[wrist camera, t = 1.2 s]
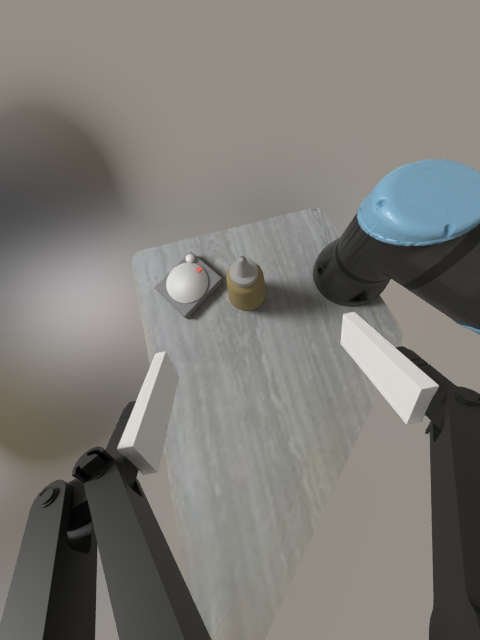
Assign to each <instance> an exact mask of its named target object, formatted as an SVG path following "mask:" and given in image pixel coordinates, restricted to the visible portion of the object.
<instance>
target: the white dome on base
mask: <svg viewBox="0 0 480 640" xmlns="http://www.w3.org/2000/svg"><path fill="white" fill-rule="evenodd" d="M222 283H223V280H222V278H221V277H220V276H219V275H218V274H216V273H215V272H214V271H213V270H212V269H211V268H209V267H208V266H207V265H206V264H205V263H204V262H203V261H201V260H200V259H199V258H198V257H197V256H196V255H195V254H193V253H192V252H190V253H189V254H188V255H187V256H186V257H185V258H184V259H183V260H182V261H181V262H180V263H179V264H178V265H177V266H176V267H175V268H174V269H173V270H172V271H171V272H170V273H169V274H168V275H167V276H166V277H165V278H164V279H163V280H162V281H161V282H160V283H159V284H158V285H157V286H156V287H155V289H156V290H157V291H158V292H159V293H160V294H161V295H162V296H163V297H164V298H165V299H166V300H167V301H168V302H169V303H170V304H171V305H172V306H173V307H174V308H175V309H176V310H177V311H178V312H179V313H180V314H181V315H182V316H183V317H185V318H187V319H188V318H189V317H190V316H191V315H192V314H193V313H194V312H195V311H196V309H197V308H198V307H199V306H200V305H201V304H202V303H203V302H204V301H205V300H206V299H207V298H208V297H209V296H210V295H211V294H212V293H213V292H214V291H215V290H216V289H217V288H218V287H219V286H220V285H221V284H222Z"/></svg>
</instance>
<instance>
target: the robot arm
mask: <svg viewBox="0 0 480 640" xmlns="http://www.w3.org/2000/svg"><path fill="white" fill-rule="evenodd" d="M313 277H314V281H315V284H316V286H317V288H318V290H319V291H320V292H321V293H322V295H324V296H325V297H326V298H327V299H329V300H330V301H332V302H334V303H336V304H339V305H343V306H358V305H362V304H365V303H367V302H369V301H371V300H373V299H374V298H376V297H377V296H378V295H380V294H381V292H383V290H384V289H385V287H386V286H387V284H388V283H389V281H390V279H393V280H394V281H396V282H397V283H399V284H400V285H402V286H404V287H405V288H407V289H408V290H409V291H411V292H412V293H414V294H415V295H417V296H419V297H420V298H421V299H423V300H425V301H426V302H427V303H429V304H430V305H432V306H433V307H435V308H436V309H438V310H439V311H441V312H442V313H444V314H445V315H447V316H448V317H450V318H451V319H452V320H453V321H455V322H456V323H457V324H460V325H461V326H463V327H465V328H467V329H470V330H472V331H474V332H475V333H477V334H479V335H480V173H479V172H477V171H476V170H475V169H473V168H471V167H469V166H467V165H464V164H462V163H459V162H455V161H450V160H442V159H428V160H421V161H419V162H417V163H409V164H406V165H403V166H401V167H399V168H397V169H395V170H393V171H392V172H390V173H389V174H387V175H386V176H385V177H384V178H383V179H382V180H381V181H380V182H379V183H378V184H377V185H376V187H375V188H374V189H373V191H372V192H371V193H370V194H369V195H368V196H367V197H366V198H365V199H364V201H363V202H362V203H361V205H360V207H359V210H358V212H357V214H356V215H355V217H354V218H353V220H352V222H351V223H350V224H349V226H348V227H347V229H346V230H345V232H344V233H343V234H342V236H341V237H340V238H339V239H337V240H335V241H334V242H332V243H330V244H329V245H328V246H326V247H325V248H324V249H323V250H322V252H321V253H320V255H319V256H318V258H317V260H316V262H315V264H314V269H313ZM341 345H342V346H343V347H344V348H345V350H346V351H347V352H348V353H349V355H350V356H351V357H352V358H353V359H354V361H355V362H356V363H357V364H358V366H359V367H360V368H361V369H362V370H363V372H364V373H365V374H366V375H367V377H368V378H369V379H370V380H371V381H372V383H373V384H374V385H375V386H376V388H377V389H378V390H379V391H380V393H381V394H382V395H383V396H384V397H385V399H386V400H387V401H388V402H389V404H390V405H391V406H392V407H393V408H394V410H395V411H396V412H397V413H398V415H399V416H400V417H401V418H402V419H403V421H404V422H405V423H406V424H411V423H416V422H421V421H422V420H423V417H424V416H425V415H426V416H427V417H428V418H429V419H430V420H431V422H430V424H429V426H428V428H427V429H426V432H425V433H426V434H428V433H429V432H430V461H431V462H430V463H431V505H432V546H433V591H434V604H433V611H432V614H431V618H430V626H429V640H480V394H478V393H477V392H475V391H473V390H470V389H467V388H464V387H457V386H456V385H454V384H453V383H452V382H451V381H449V380H448V379H447V378H446V377H444V376H443V375H442V374H441V373H439V372H438V371H437V370H436V369H434V368H433V367H432V366H431V365H428V363H427V362H426V361H424V360H423V359H421V357H419V356H418V355H417V354H416V353H415V352H413V351H411V350H409V349H407V348H405V347H403V346H401V347H396V348H395V347H394V346H393V345H392V344H390V343H389V342H388V341H387V340H386V339H385V338H384V337H382V336H381V335H380V334H379V333H378V332H377V331H375V330H374V329H373V328H372V327H371V326H370V325H369V324H367V323H366V322H365V321H364V320H363V319H362V318H360V317H359V316H358V315H357V314H356V313H355V312H350V313H345V314H343V322H342V333H341ZM178 379H179V376H178V374H177V372H176V370H175V368H174V366H173V364H172V363H171V361H170V359H169V357H168V355H167V353H166V351H165V352H160V353H156V354H155V356H154V359H153V361H152V364H151V366H150V369H149V371H148V374H147V376H146V379H145V381H144V384H143V386H142V389H141V391H140V393H139V396H138V398H137V401H134V402H130V403H129V404H128V405H127V406H126V407H125V409H124V410H123V412H122V414H121V416H120V419H119V421H118V423H117V425H116V428H115V430H114V432H113V434H112V436H111V439H110V441H109V443H108V445H107V447H106V450H104V449H103V448H102V447H95V448H92V449H90V450H88V451H87V452H86V453H85V454H83V455H82V456H81V457H80V458H79V460H78V461H77V462H76V464H75V466H74V469H73V473H72V476H74V477H75V478H76V479H74V480H72V481H70V482H68V483H67V482H65V481H63V480H56V481H54V482H52V483H51V484H49V485H48V486H46V487H45V488H44V489H43V490H42V491H41V492H40V493H39V494H38V496H37V497H36V499H35V500H34V502H33V504H32V507H31V509H30V513H29V517H28V520H27V524H26V528H25V532H24V536H23V539H22V543H21V547H20V551H19V555H18V559H17V563H16V567H15V570H14V574H13V578H12V581H11V586H10V589H9V593H8V597H7V600H6V604H5V608H4V612H3V616H2V620H1V623H0V640H95V616H96V615H95V612H96V576H97V575H96V574H97V544H98V548H99V552H100V556H101V561H102V565H103V570H104V574H105V579H106V583H107V587H108V592H109V596H110V600H111V605H112V609H113V614H114V618H115V622H116V627H117V631H118V635H119V640H211V638H210V636H209V634H208V631H207V629H206V627H205V625H204V623H203V620H202V618H201V616H200V614H199V612H198V610H197V607H196V605H195V603H194V601H193V599H192V596H191V594H190V592H189V590H188V588H187V586H186V583H185V581H184V579H183V577H182V575H181V572H180V570H179V568H178V566H177V564H176V562H175V560H174V557H173V555H172V553H171V551H170V548H169V546H168V544H167V542H166V540H165V538H164V535H163V533H162V531H161V529H160V527H159V524H158V522H157V520H156V518H155V516H154V514H153V511H152V509H151V507H150V505H149V503H148V501H147V498H146V496H145V494H144V492H143V490H142V488H141V485H140V483H139V481H138V480H137V479H136V477H137V474H138V470H139V471H140V472H141V473H142V474H143V475H145V474H150V473H156V472H158V467H159V463H160V458H161V454H162V450H163V445H164V441H165V436H166V432H167V427H168V423H169V419H170V414H171V410H172V405H173V401H174V396H175V392H176V387H177V383H178Z"/></svg>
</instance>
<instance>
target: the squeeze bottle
mask: <svg viewBox="0 0 480 640" xmlns="http://www.w3.org/2000/svg"><path fill="white" fill-rule="evenodd" d="M226 279H227V288H228V295H229V299H230V301H231V303H232V305H233V306H235V307H236V308H237V309H240V310H243V311H250V310H254V309H256V308H258V307H260V305H261V304H262V303H263V302H264V300H265V296H266V289H265V282H264V277H263V272H262V270H261V268H260V267H259V265H257V264H256V263H255V262H254V261H253V260H251V259H249V258H245V257H244V256H240V257H239V258H238V259H237V260H236V261H234V262H233V263H232V265H231V267H230V268H229V270H228V272H227V275H226Z"/></svg>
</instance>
